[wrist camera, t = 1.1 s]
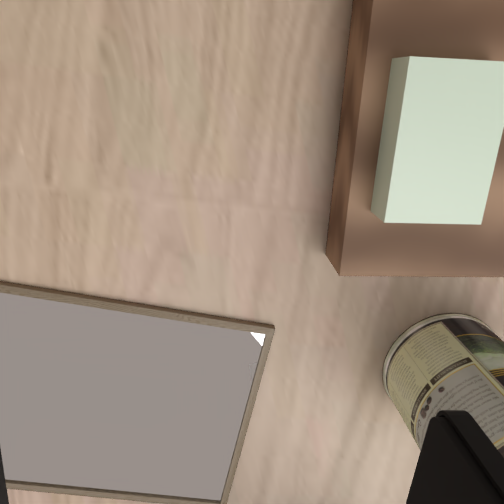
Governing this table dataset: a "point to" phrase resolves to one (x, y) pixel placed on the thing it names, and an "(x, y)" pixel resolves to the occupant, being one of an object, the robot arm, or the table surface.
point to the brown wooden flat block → (369, 135)
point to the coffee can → (448, 374)
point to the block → (439, 140)
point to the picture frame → (124, 396)
